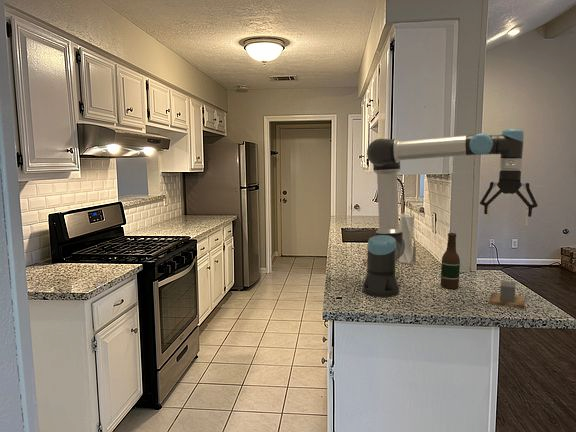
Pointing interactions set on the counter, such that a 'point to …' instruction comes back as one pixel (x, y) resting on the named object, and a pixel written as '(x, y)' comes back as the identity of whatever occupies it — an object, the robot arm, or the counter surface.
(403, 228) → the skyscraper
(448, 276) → the beer bottle
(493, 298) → the walnut board
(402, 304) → the counter surface
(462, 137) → the robot arm
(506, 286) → the plug
